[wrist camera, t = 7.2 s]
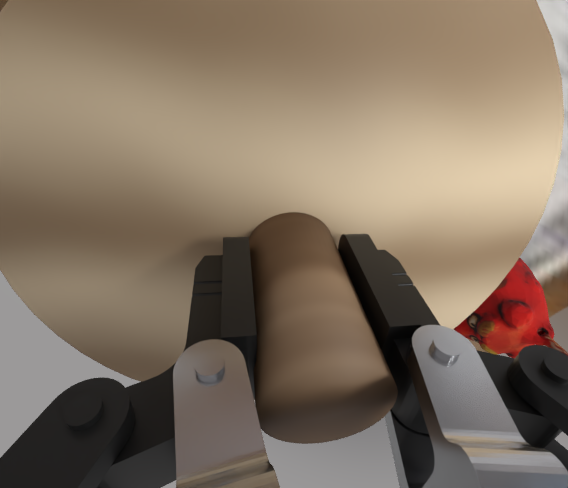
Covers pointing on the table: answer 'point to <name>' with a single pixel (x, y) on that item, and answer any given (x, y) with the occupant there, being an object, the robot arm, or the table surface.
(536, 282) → the red clay folk toy
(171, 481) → the robot arm
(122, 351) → the lid
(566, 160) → the table surface
